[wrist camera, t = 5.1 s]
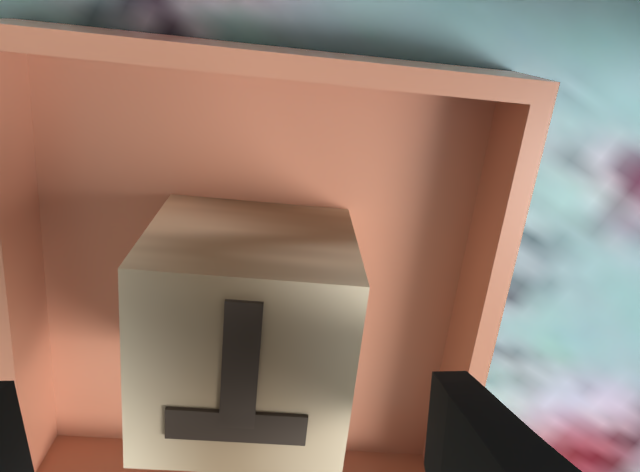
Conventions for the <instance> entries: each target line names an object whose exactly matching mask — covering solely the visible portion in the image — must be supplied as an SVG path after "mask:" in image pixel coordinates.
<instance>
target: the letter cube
mask: <svg viewBox="0 0 640 472" xmlns="http://www.w3.org/2000/svg"><path fill="white" fill-rule="evenodd" d="M369 289H370V286H369V283H368V279H367V275H366V272H365V268H364V264H363V261H362V257H361V253H360V250H359V246H358V243H357V239H356V235H355V232H354V228H353V224H352V221H351V217H350V213H349V210H348V209H339V208H328V207H316V206H304V205H292V204H281V203H269V202H257V201H246V200H234V199H222V198H210V197H199V196H187V195H175V194H171V195H170V196H169V197H168V199H167V200H166V202H165V203H164V204H163V206H162V207H161V209H160V210H159V211H158V213H157V214H156V216H155V217H154V218H153V220H152V221H151V223H150V224H149V225H148V227H147V228H146V230H145V231H144V232H143V234H142V235H141V237H140V238H139V239H138V241H137V242H136V244H135V245H134V246H133V248H132V249H131V251H130V252H129V253H128V255H127V256H126V258H125V259H124V260H123V262H122V263H121V265H120V266H119V267H118V293H119V328H120V363H121V398H122V434H123V468H132V469H152V470H172V471H192V472H342V471H343V464H344V457H345V451H346V444H347V437H348V430H349V424H350V417H351V410H352V404H353V397H354V390H355V383H356V377H357V370H358V363H359V356H360V350H361V343H362V336H363V330H364V323H365V316H366V309H367V303H368V296H369Z"/></svg>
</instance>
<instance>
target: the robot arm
mask: <svg viewBox="0 0 640 472" xmlns="http://www.w3.org/2000/svg"><path fill="white" fill-rule="evenodd" d="M424 467H425V472H582V471H581V470H579V469H578V468H577V467H575V466H574V465H573V464H572V463H570V462H569V461H568V460H567V459H566V458H564V457H563V456H562V455H561V454H560V453H558V452H557V451H556V450H555V449H554V448H552V447H551V446H550V445H549V444H548V443H546V442H545V441H544V440H543V439H542V438H541V437H539V436H538V435H537V434H536V433H535V432H534V431H533V430H531V429H530V428H529V427H528V426H527V425H526V424H525V423H524V422H522V421H521V420H520V419H519V418H518V417H517V416H516V415H515V414H513V413H512V412H511V411H510V410H509V409H508V408H507V407H506V406H505V405H504V404H503V403H501V402H500V401H499V400H498V399H497V398H496V397H495V396H494V395H493V394H492V393H491V392H489V391H488V390H487V389H486V388H485V387H484V386H483V385H482V384H481V383H480V382H479V381H477V380H476V379H475V378H474V377H473V376H472V375H471V374H470V373H468V372H467V371H434V372H432V379H431V390H430V401H429V412H428V423H427V434H426V445H425V456H424ZM0 472H34V467H33V463H32V459H31V454H30V450H29V445H28V441H27V436H26V432H25V427H24V423H23V419H22V414H21V410H20V405H19V401H18V396H17V392H16V388H15V383H14V381H0Z"/></svg>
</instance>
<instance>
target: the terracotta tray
mask: <svg viewBox="0 0 640 472" xmlns="http://www.w3.org/2000/svg"><path fill="white" fill-rule="evenodd" d="M559 84H560V82H556V81H552V80H548V79H544V78H540V77H536V76H531V75H527V74H523V73H519V72H515V71H506V70H497V69H488V68H478V67H469V66H459V65H450V64H440V63H431V62H421V61H412V60H402V59H393V58H383V57H374V56H365V55H355V54H346V53H336V52H327V51H317V50H308V49H298V48H289V47H279V46H270V45H261V44H251V43H242V42H232V41H223V40H213V39H204V38H194V37H185V36H175V35H166V34H156V33H147V32H138V31H128V30H119V29H109V28H100V27H90V26H81V25H71V24H62V23H52V22H43V21H34V20H24V19H15V18H0V381H14V383H15V388H16V392H17V396H18V401H19V405H20V410H21V414H22V419H23V423H24V427H25V432H26V436H27V441H28V445H29V450H30V454H31V459H32V463H33V467H34V472H192V471H172V470H152V469H132V468H123V434H122V398H121V363H120V328H119V293H118V267H119V266H120V265H121V263H122V262H123V260H124V259H125V258H126V256H127V255H128V253H129V252H130V251H131V249H132V248H133V246H134V245H135V244H136V242H137V241H138V239H139V238H140V237H141V235H142V234H143V232H144V231H145V230H146V228H147V227H148V225H149V224H150V223H151V221H152V220H153V218H154V217H155V216H156V214H157V213H158V211H159V210H160V209H161V207H162V206H163V204H164V203H165V202H166V200H167V199H168V197H169V196H170V195H171V194H175V195H187V196H199V197H210V198H222V199H234V200H246V201H257V202H269V203H281V204H292V205H304V206H316V207H328V208H339V209H348V210H349V213H350V217H351V221H352V224H353V228H354V232H355V235H356V239H357V243H358V246H359V250H360V253H361V257H362V261H363V264H364V268H365V272H366V275H367V279H368V283H369V286H370V289H369V296H368V303H367V309H366V316H365V323H364V330H363V336H362V343H361V350H360V356H359V363H358V370H357V377H356V383H355V390H354V397H353V404H352V410H351V417H350V424H349V430H348V437H347V444H346V451H345V457H344V464H343V471H342V472H425V467H424V456H425V445H426V434H427V423H428V412H429V401H430V390H431V379H432V372H434V371H467V372H468V373H470V374H471V375H472V376H473V377H474V378H475V379H476V380H477V381H479V382H480V383H481V384H482V385H483V386H484V387H485V384H486V380H487V376H488V372H489V368H490V364H491V360H492V356H493V352H494V348H495V343H496V339H497V335H498V331H499V327H500V323H501V319H502V315H503V311H504V307H505V303H506V299H507V295H508V291H509V287H510V283H511V279H512V275H513V271H514V267H515V262H516V258H517V254H518V250H519V246H520V242H521V238H522V234H523V230H524V226H525V222H526V218H527V214H528V210H529V206H530V202H531V198H532V194H533V190H534V186H535V181H536V177H537V173H538V169H539V165H540V161H541V157H542V153H543V149H544V145H545V141H546V137H547V133H548V129H549V125H550V121H551V117H552V113H553V109H554V105H555V100H556V96H557V92H558V88H559Z"/></svg>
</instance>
